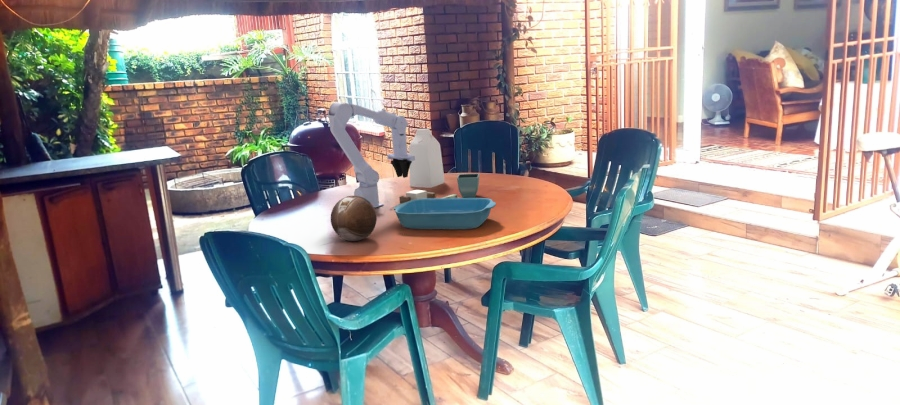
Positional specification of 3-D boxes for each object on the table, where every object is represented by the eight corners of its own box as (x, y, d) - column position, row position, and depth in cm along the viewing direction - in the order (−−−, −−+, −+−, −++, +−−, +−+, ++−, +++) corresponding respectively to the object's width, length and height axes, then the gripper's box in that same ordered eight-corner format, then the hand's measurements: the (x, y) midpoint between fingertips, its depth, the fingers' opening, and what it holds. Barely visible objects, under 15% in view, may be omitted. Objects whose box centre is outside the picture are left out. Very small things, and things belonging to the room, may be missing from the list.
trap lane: (427, 212, 243) (426, 203, 242) (390, 206, 257) (389, 198, 256) (468, 199, 260) (468, 191, 259) (431, 194, 274) (431, 186, 273)
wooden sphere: (326, 247, 205) (321, 202, 202) (341, 234, 220) (337, 192, 216) (371, 246, 203) (367, 200, 199) (383, 233, 217) (379, 190, 214)
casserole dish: (385, 231, 220) (383, 211, 219) (407, 215, 241) (405, 197, 239) (489, 232, 210) (487, 211, 208) (502, 216, 230) (501, 196, 229)
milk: (444, 182, 299) (440, 127, 293) (431, 187, 290) (427, 130, 284) (423, 181, 305) (419, 127, 300) (409, 186, 296) (405, 130, 290)
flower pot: (480, 194, 269) (479, 173, 267) (479, 198, 260) (478, 177, 258) (459, 195, 270) (458, 174, 268) (458, 199, 261) (456, 178, 259)
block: (417, 204, 258) (416, 193, 257) (406, 203, 262) (406, 192, 261) (427, 201, 262) (426, 190, 261) (417, 200, 266) (416, 189, 265)
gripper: (419, 143, 260) (421, 176, 263) (394, 142, 270) (397, 174, 273) (406, 146, 255) (409, 179, 258) (382, 145, 265) (385, 177, 268)
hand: (402, 177), depth 265 cm, fingers open, 3 cm apart
